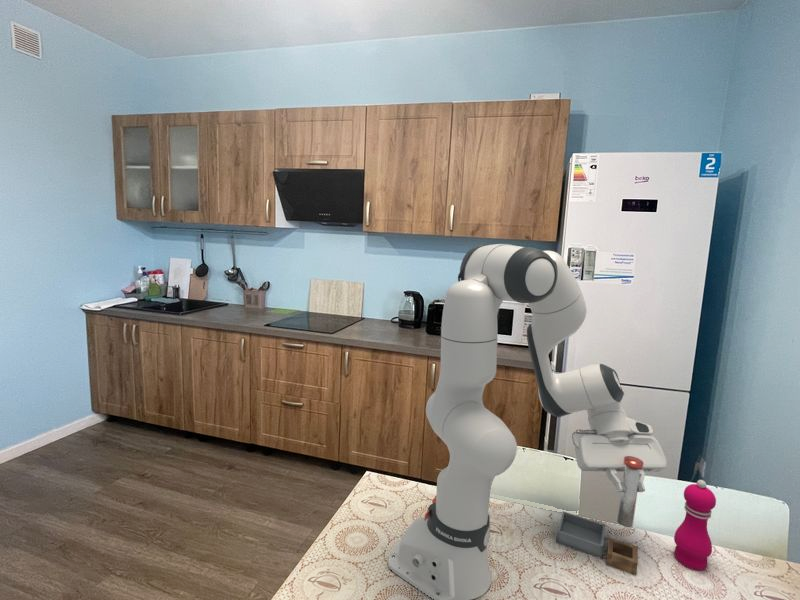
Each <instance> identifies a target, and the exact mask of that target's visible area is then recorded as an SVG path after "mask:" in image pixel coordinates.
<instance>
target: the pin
mask: <svg viewBox="0 0 800 600" xmlns="http://www.w3.org/2000/svg"><path fill="white" fill-rule="evenodd" d="M623 463H624V464H625V469H624V472H623V478H622V482H624V483H625V487H626V491H625V492H620V499H619V505H618V512H617V521H616V522H617V523H618V525H621V526H622V527H625V528H631V527H633V521H634V516H635V509H636V502H637V493H638V492H637V489H638V482H639V476H640V469H642V468H643V461H642V460H640V459H639V458H636V457H633V456H625V457H624V461H623Z"/></svg>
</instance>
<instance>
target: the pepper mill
mask: <svg viewBox="0 0 800 600" xmlns="http://www.w3.org/2000/svg"><path fill="white" fill-rule="evenodd" d="M683 498H684V500H685V503H684V508H683V509H684V511H685V517H684V519H683V521H682V522H681V524H680V525H679V526H678V527H677V529H676V530H675V533H674V536H673V541H674V544H675V547H674V551H673V552H674V554H673V555H674V557H675V559H676V560H677V561H678V562H679V563H680V564H681V565H683V566H685V567H687V568H688V569H690V570H691V569H692V570H695V571H704V570H706V569H707V567H708V560H709V559H708V558H709V557H711V555H712V552H713V545H712V541H711V538H710V534H709V532H708V520H709V519H711V518H712V510H713V509H714V508H715V507H716V504H717V498H716V496H715V493H714V492H713V491H712V490H711V489H710V488H708V487H707V483H706V481H705V480H703V479H698V480H697V482H696V483H692V484H689V485H687V486H686V487H685V488H684V491H683Z"/></svg>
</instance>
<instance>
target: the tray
mask: <svg viewBox="0 0 800 600" xmlns="http://www.w3.org/2000/svg"><path fill="white" fill-rule="evenodd" d="M605 531H606V524H604V523H602V522H597V521H596V520H592V519H589V518H585V517H582V516H579V515H576V514H574V513H570V512H567V511H564V510H563V511H562V513H561V518H560V521H559V523H558V528H557V531H556V543H557V544H559V545H561V546H565V547H567V548H570V549H573V550H576V551H579V552H582V553H584V554H587V555H590V556H592V557H595V558H599V559H601V560H602V558H603V552H604V541H605V534H606V533H605Z"/></svg>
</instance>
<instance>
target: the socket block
mask: <svg viewBox="0 0 800 600" xmlns="http://www.w3.org/2000/svg"><path fill="white" fill-rule="evenodd" d="M606 550H607V551H606V562H605V566H608V567H611V568H614V569H617V570H620V571H622V572H625V573H628V574H630V575H634V576H637V571H638V563H639V562H638V561H639V553H638V550H639V546H637V545H634V544H631V543H627V542H626V541H622V540H619V539H616V538H612V537H610V536H609V537H608V544H607V549H606Z"/></svg>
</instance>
